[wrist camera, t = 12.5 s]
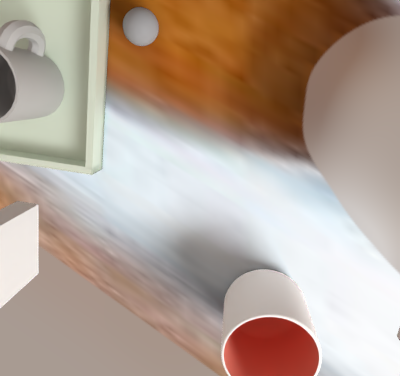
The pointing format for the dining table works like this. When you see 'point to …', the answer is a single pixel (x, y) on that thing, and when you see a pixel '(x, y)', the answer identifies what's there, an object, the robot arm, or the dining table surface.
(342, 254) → the dining table surface
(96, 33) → the tray
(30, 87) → the cup
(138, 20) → the mixing ball
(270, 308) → the cup
